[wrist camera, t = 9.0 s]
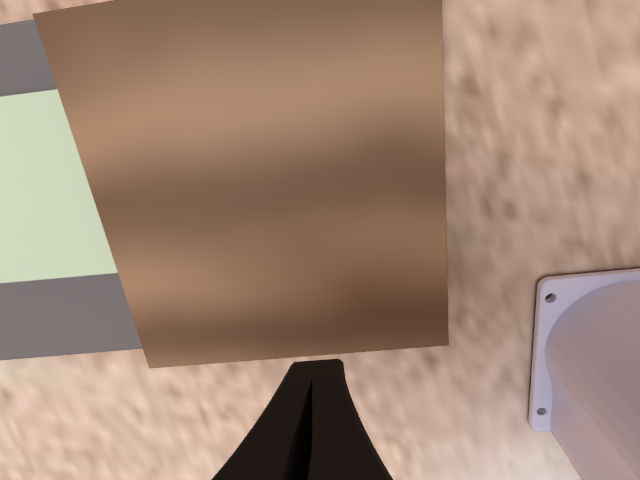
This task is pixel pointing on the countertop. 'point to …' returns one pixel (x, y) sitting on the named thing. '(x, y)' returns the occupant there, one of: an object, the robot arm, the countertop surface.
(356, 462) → the robot arm
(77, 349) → the rubber mat
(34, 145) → the coaster
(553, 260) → the countertop surface
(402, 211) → the walnut board
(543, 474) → the countertop surface
